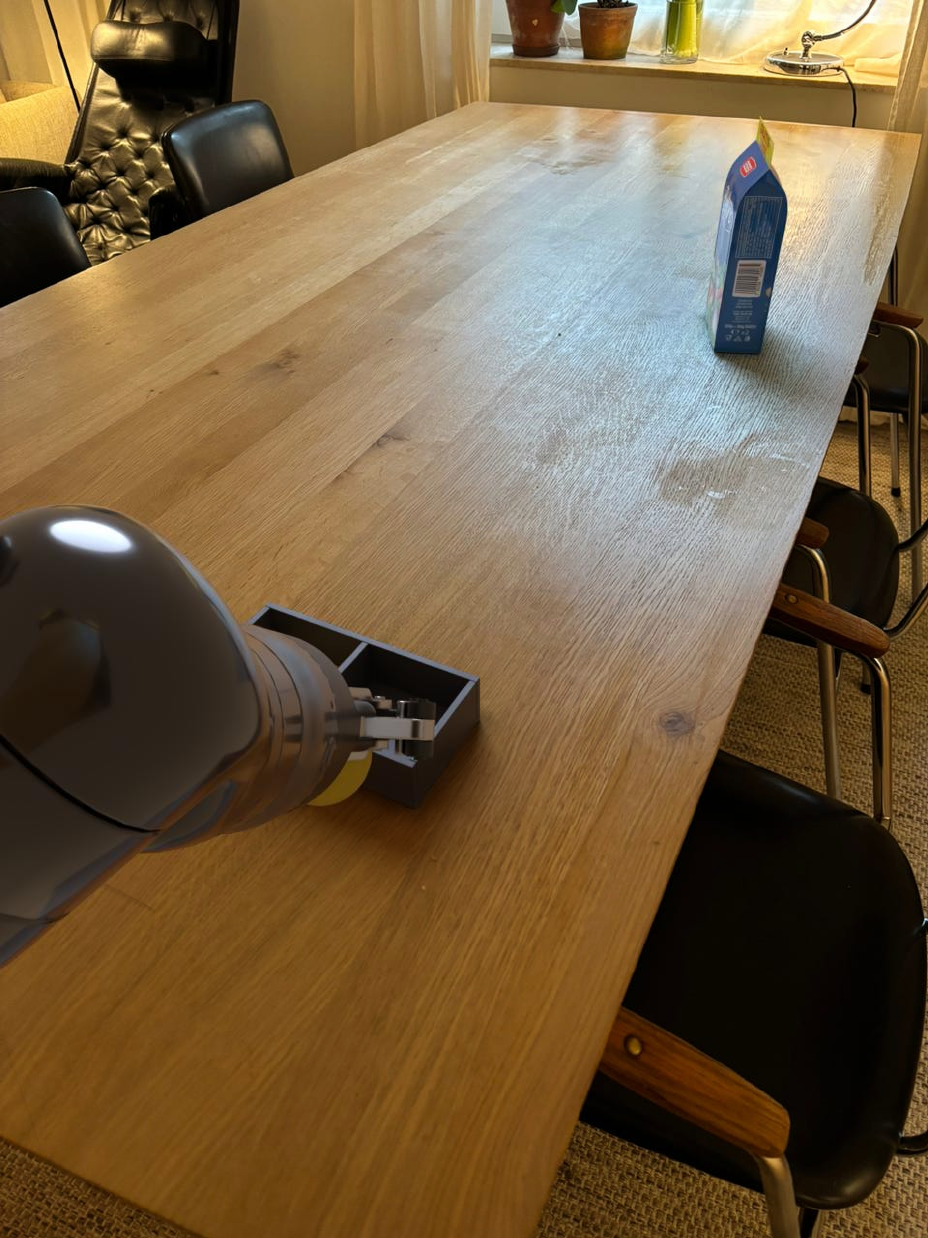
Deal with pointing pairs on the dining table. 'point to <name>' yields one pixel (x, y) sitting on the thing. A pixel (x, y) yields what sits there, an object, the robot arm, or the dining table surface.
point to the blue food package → (746, 250)
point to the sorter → (391, 696)
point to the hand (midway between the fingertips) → (325, 718)
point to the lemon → (345, 782)
